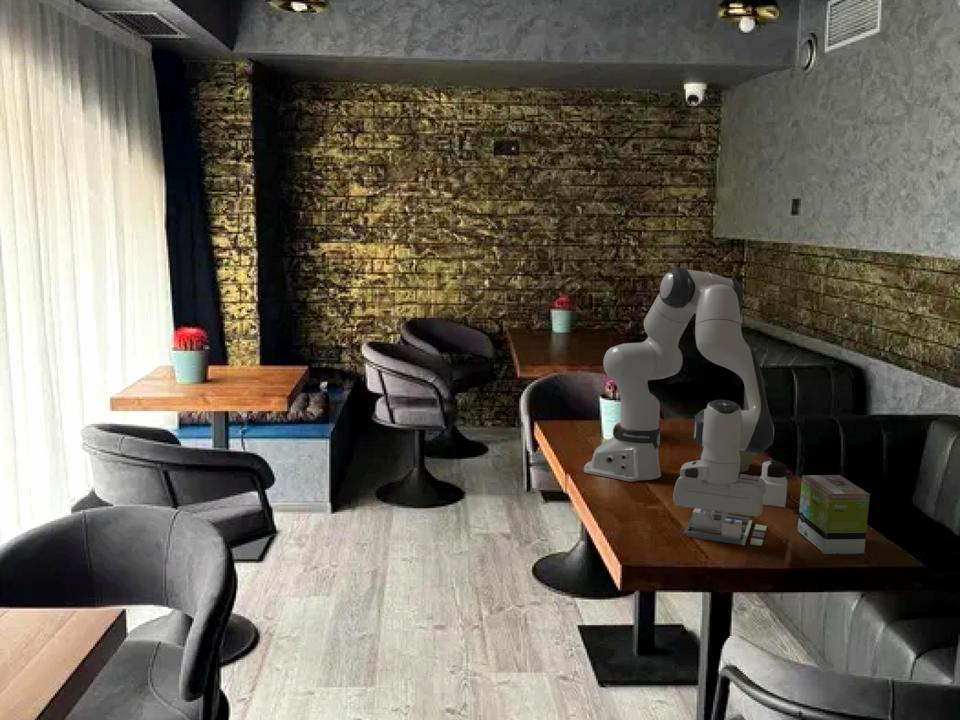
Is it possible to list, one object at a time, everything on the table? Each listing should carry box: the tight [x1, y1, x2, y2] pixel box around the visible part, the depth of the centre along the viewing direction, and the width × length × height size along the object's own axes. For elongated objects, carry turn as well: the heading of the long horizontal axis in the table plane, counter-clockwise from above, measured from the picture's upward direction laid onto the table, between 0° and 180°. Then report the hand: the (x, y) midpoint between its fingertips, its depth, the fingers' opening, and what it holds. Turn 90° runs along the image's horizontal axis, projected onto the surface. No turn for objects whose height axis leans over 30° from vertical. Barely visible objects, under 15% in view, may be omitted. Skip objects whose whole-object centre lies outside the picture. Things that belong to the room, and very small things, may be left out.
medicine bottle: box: [759, 460, 788, 508], centre depth 243 cm, size 7×7×12 cm
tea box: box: [797, 474, 871, 555], centre depth 216 cm, size 15×10×15 cm
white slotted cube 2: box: [691, 508, 712, 528], centre depth 221 cm, size 4×4×4 cm
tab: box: [720, 519, 743, 539], centre depth 214 cm, size 4×4×4 cm
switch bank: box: [682, 512, 768, 547], centre depth 220 cm, size 23×18×2 cm
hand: (715, 528), depth 215 cm, fingers closed
